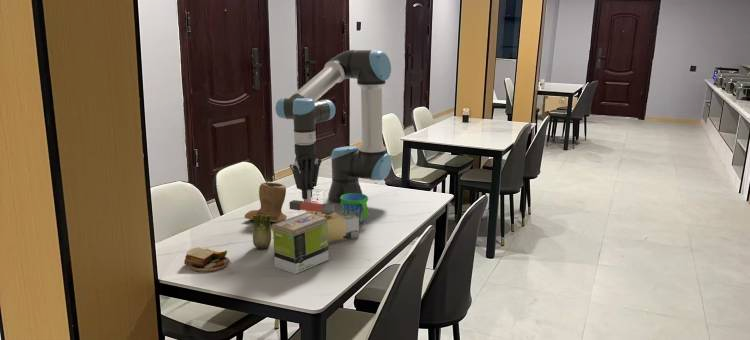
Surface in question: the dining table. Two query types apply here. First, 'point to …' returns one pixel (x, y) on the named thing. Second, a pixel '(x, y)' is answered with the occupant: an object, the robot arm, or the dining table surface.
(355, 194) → the snack cup
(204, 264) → the toy sandwich meal
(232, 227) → the dining table surface
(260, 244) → the fennel bulb
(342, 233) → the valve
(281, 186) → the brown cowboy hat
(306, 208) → the lever
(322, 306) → the dining table surface
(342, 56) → the robot arm
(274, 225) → the tea box
